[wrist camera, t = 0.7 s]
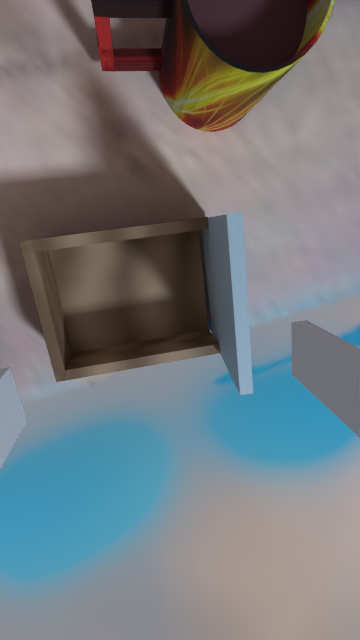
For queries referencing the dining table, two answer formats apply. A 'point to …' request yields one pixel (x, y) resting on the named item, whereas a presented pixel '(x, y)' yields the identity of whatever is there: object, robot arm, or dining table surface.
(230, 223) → the pale blue square panel
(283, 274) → the dining table surface
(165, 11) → the mug
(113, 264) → the crate
